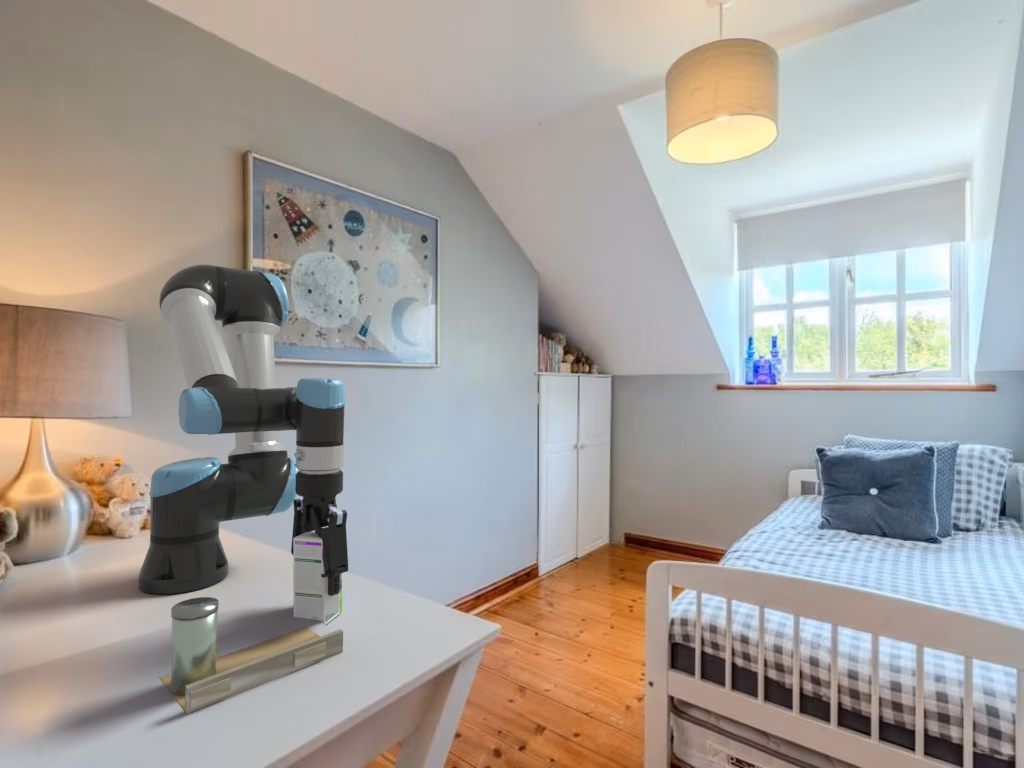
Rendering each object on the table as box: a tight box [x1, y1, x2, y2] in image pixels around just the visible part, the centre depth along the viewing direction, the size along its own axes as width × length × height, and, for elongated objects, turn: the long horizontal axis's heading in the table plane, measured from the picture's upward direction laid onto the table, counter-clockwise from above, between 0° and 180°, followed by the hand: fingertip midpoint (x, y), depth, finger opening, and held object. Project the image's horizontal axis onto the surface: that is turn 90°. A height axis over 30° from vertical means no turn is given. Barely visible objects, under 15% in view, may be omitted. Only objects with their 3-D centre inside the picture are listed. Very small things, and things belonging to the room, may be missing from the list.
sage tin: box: [170, 596, 220, 696], centre depth 69 cm, size 5×5×10 cm
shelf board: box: [159, 626, 344, 715], centre depth 74 cm, size 11×20×4 cm, turn 137°
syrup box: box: [292, 530, 343, 626], centre depth 91 cm, size 6×6×14 cm
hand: (317, 605), depth 91 cm, fingers closed on syrup box, 7 cm apart
